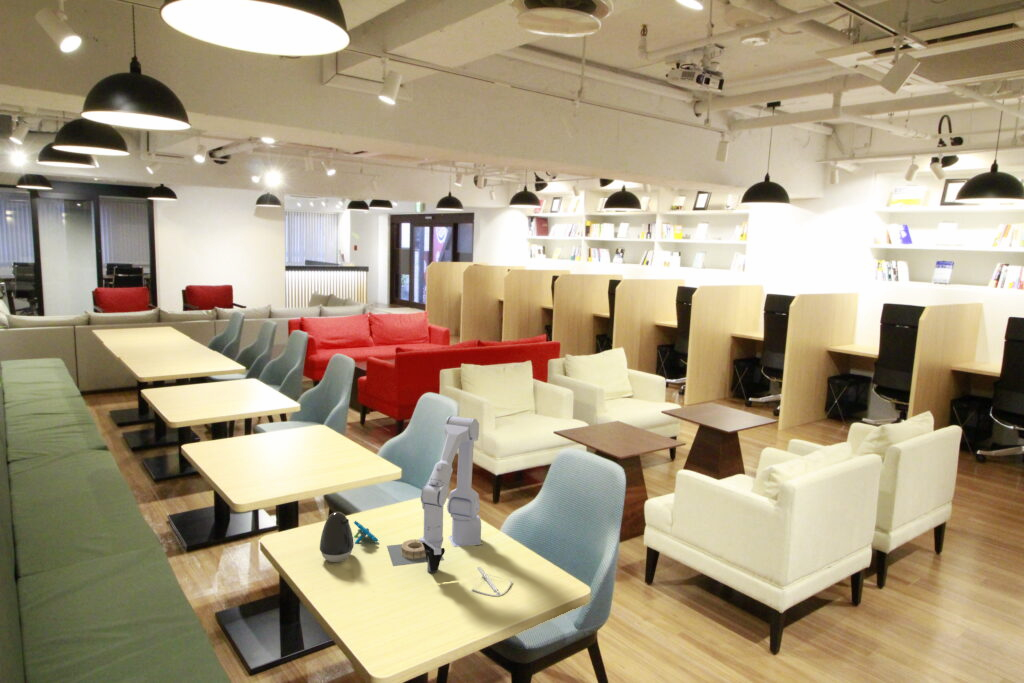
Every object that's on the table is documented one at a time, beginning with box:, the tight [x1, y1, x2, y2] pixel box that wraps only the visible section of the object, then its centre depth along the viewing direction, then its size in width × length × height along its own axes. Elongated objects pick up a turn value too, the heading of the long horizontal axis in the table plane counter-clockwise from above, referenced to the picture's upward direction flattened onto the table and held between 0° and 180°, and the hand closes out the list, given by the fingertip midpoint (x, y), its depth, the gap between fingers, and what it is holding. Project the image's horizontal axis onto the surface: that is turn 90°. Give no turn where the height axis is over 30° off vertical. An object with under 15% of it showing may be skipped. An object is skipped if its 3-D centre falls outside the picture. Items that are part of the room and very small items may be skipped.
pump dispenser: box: [319, 511, 355, 563], centre depth 202 cm, size 10×10×15 cm
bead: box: [401, 538, 426, 559], centre depth 208 cm, size 8×8×2 cm
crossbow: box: [471, 566, 513, 597], centre depth 193 cm, size 16×13×2 cm
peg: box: [426, 559, 438, 575], centre depth 197 cm, size 3×3×6 cm
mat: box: [386, 543, 445, 567], centre depth 208 cm, size 16×14×1 cm
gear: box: [353, 520, 379, 544], centre depth 215 cm, size 11×6×10 cm
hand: (432, 566), depth 197 cm, fingers open, 4 cm apart
